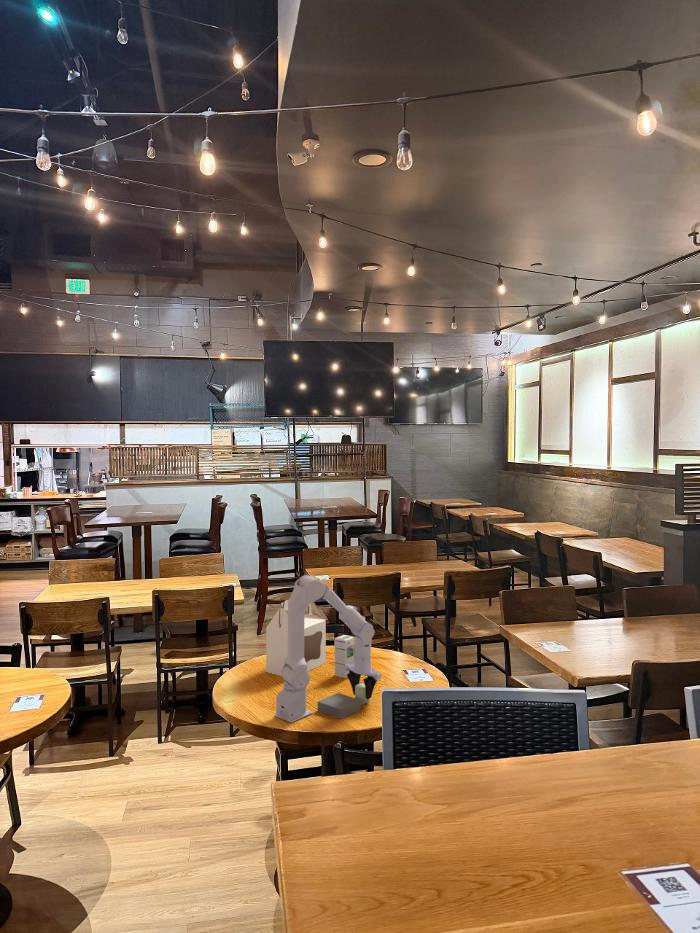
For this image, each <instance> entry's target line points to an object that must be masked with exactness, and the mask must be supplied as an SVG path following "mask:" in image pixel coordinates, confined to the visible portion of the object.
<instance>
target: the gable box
mask: <svg viewBox="0 0 700 933" xmlns="http://www.w3.org/2000/svg"><path fill="white" fill-rule="evenodd" d="M288 600H289V598H288V599H285V600H284V601H283V602H280V605H281V608H279V609H278V610H277V612H276V613H275V614H274V616H273V617H272V619H271V620H270V622H269V623H268V624H267V626H266V628H265V632H266V634H265V637H266V638H265V643H266V644H265V645H266V646H265V647H266V648H265V653H266V654H265V662H266V663H265V672H266V673H267V672H268V673H267V674H271V673H272V674H273V675H275V674H276V676H281V677H282V675H281V671H282V668H283V666H284V659H285V658H286V657H287V656H288ZM326 622H327V621H326V619H325V617H324V615H323V614H322V612H321V611H320V609H319V607H318V606H317V604H316V603H315V601H314V602H312V603H310V604H309V605H308V606H307V607H306V608H305V613H304V658H305V661H306V664H307V671H308V672H309V671H312V670H313V669H316V668H318V667H320V666H321V665H324V664H325V663H326V659H327V658H326V657H327V656H326V654H327V653H326V650H327V649H326V648H327V646H326V645H327V643H326V641H327V640H326V639H327V638H326V636H327V633H326V631H327V630H326V626H327V625H326V624H327V623H326Z"/></svg>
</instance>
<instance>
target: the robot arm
mask: <svg viewBox="0 0 700 933" xmlns="http://www.w3.org/2000/svg"><path fill="white" fill-rule="evenodd" d="M288 599H289V600H288V611H287V612H288V656H287V657H286V658H285V659H284V666H283V668H282V671H281V675H282V676H281V678H282V679H283V680H284V683H283V688H282V689H281V690H280V691H279V692H277V694H276V697H275V698H276V700H275V701H276V702H275V703H276V705H275V708H276V709H275V712H276V713H274V717H276V718H278V717H279V719H280V720H281V719H282V720H283V721H286V722H289V723H294V722H296V721H298V720H301V719H303V718H306V717H308V716H310V715H311V714H313V711H311V710H307V686H308V685H309V684H310V680H311V678H310V677H311V676H310V673H309V671H307V664H306V661H305V658H304V613H305V608H306V607H307V606H308V605H309V604H310V603H312V602H314V603H315V602H316V601H317V600H320V599H321V600H325V601H326V602H327V603H328V604H330V605H331V606H332V607H333V608H334V609H335V610H336V612H338V618H339V619H340V620H341V621H342V622H343V623H344V624H345V625H346V626H347V627H348V628H349V630H350V631H351V633H352V634H353V635H354V636H353V637H354V665H352V664H346V665H345V671H349V674H347V677H348V678H347V679H348V681H349V683H350V685H351V690H352V694H353V695H354V696H355V685H357V684H361V683H360V681H361V676H365V678H362V679H363V680H362V681H363V684H365V689H366V699H369V698H370V699H371V698H372V695H373V692H374V689H375V686H376V684H377V682H378V681H379V680H381V679H382V673H381V672H379V671H377V670H375V669H373V667H372V640H373V637H374V635H375V632H376V631H375V629H374V626H373V624H371V623H370V622H368V621H366V617H365V616H364V615H361V614H360V613H359V612H358V611H357V610H358V608H357V607H356V606H355V605H353V606H352V605H346V604H345V602H344V601H342V599H341V598H340V597H339V596H338V594H336V593H335V591H334V590H333V589H332V588H331V587H330V586H329V585H327V584H326V583H325V582H324V580H321V579H317V578H315V577H313V576H311V575H309V574H304V575H302V576H301V577H299V578H298V579H297V580H296V581H295V583H294V588H293V589H292V592H291V594H290V596H289V598H288Z"/></svg>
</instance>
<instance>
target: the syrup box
mask: <svg viewBox="0 0 700 933" xmlns="http://www.w3.org/2000/svg"><path fill="white" fill-rule="evenodd" d="M333 641H334V676H336V677H338V676H339V678H342V679H348V677H347V674H349V671H345V665H346V664H352V665H354V636H352V635H348V634H347V635H346V634H342V635H340V636H337V637H334V640H333Z"/></svg>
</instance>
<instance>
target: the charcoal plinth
mask: <svg viewBox="0 0 700 933" xmlns="http://www.w3.org/2000/svg"><path fill="white" fill-rule="evenodd" d="M360 710H362V704H361V700H358V699H355V697H353V696H348V695H346V694H344V693H340V692H336V693H334V694H332V695H330V696H327V697H325V698H322V699H320V700H318V701H317V711H318V712H321V713H323V714H325V713H326V715H329V716H331V717H333V718H337V719H339V720H341V719H344V718H346V717H348V716H350V715H353V714H354V713H356V712H358V711H360Z"/></svg>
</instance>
